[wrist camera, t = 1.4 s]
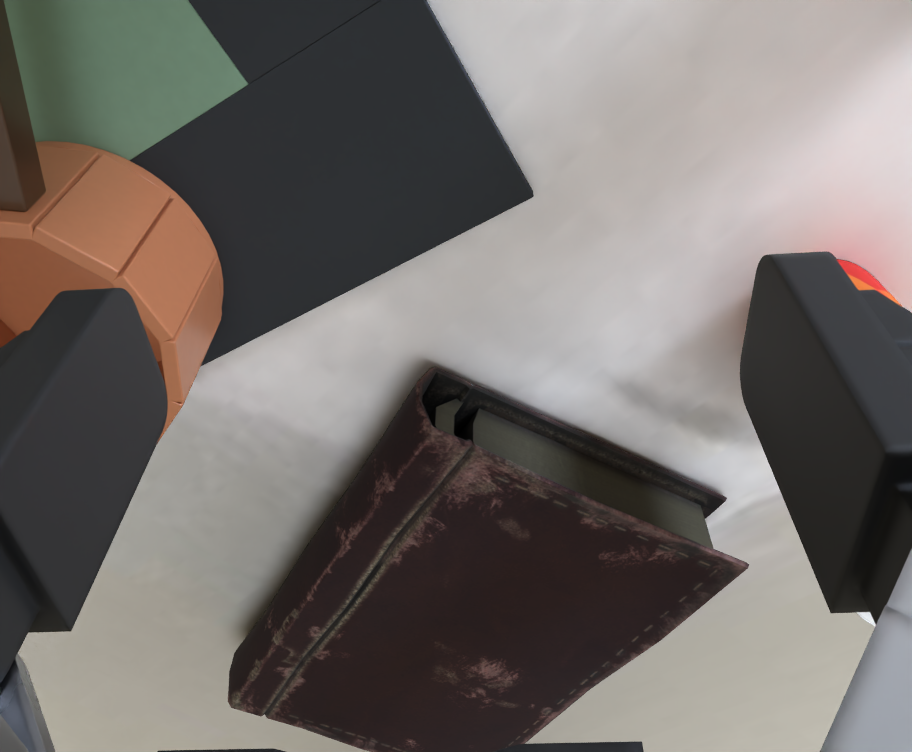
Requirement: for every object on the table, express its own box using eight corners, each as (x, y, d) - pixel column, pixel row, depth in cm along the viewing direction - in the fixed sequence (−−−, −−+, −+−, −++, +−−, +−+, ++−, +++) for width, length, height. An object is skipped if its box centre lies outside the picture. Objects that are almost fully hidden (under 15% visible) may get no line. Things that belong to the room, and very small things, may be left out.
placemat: (-569, -184, 25) (-583, -183, 25) (-54, -862, 17) (-63, -873, 17) (95, 416, 40) (92, 422, 39) (533, 192, 32) (534, 196, 32)
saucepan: (232, 381, 38) (193, 480, 33) (-10, 359, 37) (-88, 456, 32) (187, -153, 25) (112, -128, 20) (-183, -199, 24) (-360, -185, 19)
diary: (236, 634, 51) (216, 709, 47) (419, 354, 37) (413, 427, 33) (493, 715, 56) (494, 789, 52) (736, 496, 42) (763, 574, 38)
